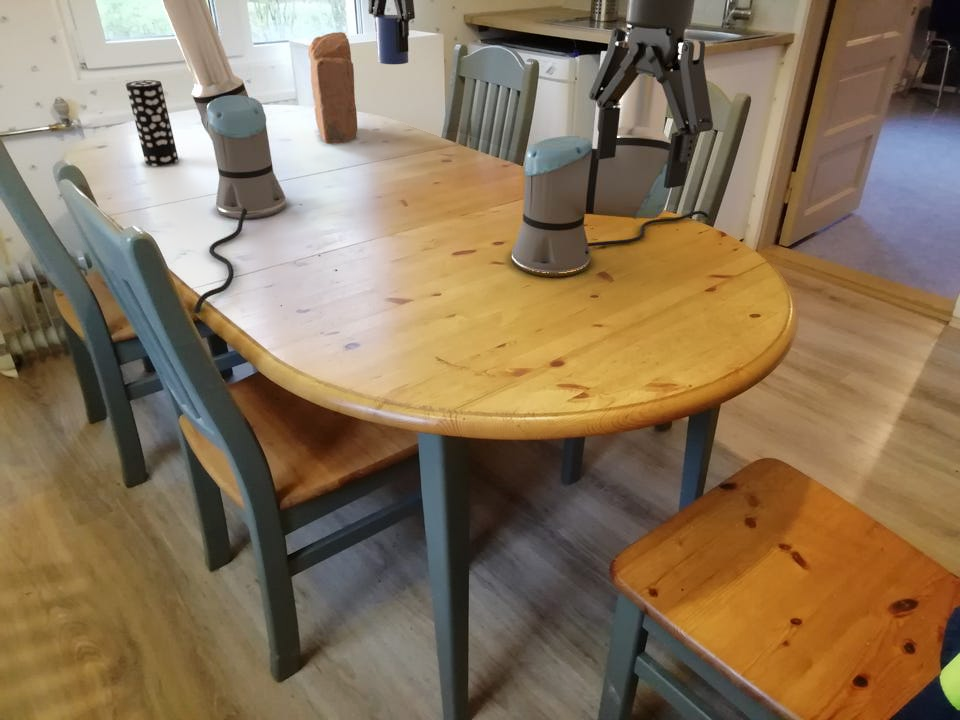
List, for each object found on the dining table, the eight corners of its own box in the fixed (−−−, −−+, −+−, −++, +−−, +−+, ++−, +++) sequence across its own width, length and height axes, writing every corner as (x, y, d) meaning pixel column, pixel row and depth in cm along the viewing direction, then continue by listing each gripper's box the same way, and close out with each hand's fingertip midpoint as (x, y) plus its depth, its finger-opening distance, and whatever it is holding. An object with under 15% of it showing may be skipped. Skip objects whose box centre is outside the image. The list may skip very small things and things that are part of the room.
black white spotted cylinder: (184, 157, 190) (167, 80, 179) (169, 166, 183) (151, 87, 172) (155, 156, 190) (136, 79, 179) (139, 165, 183) (119, 86, 172)
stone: (363, 142, 203) (354, 38, 189) (325, 145, 200) (313, 39, 186) (351, 127, 221) (342, 31, 207) (316, 130, 218) (304, 32, 204)
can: (394, 58, 173) (393, 14, 168) (414, 62, 169) (413, 16, 163) (372, 61, 168) (369, 16, 163) (391, 65, 164) (389, 19, 159)
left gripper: (429, -60, 151) (431, 53, 163) (374, -63, 163) (379, 43, 175) (403, -60, 147) (407, 56, 159) (347, -63, 159) (355, 45, 171)
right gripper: (572, -19, 87) (559, 150, 98) (720, -1, 68) (683, 205, 80) (618, -21, 90) (601, 144, 101) (772, -4, 71) (730, 195, 83)
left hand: (392, 49), depth 167 cm, fingers closed on can, 7 cm apart
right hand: (637, 171), depth 90 cm, fingers open, 13 cm apart
